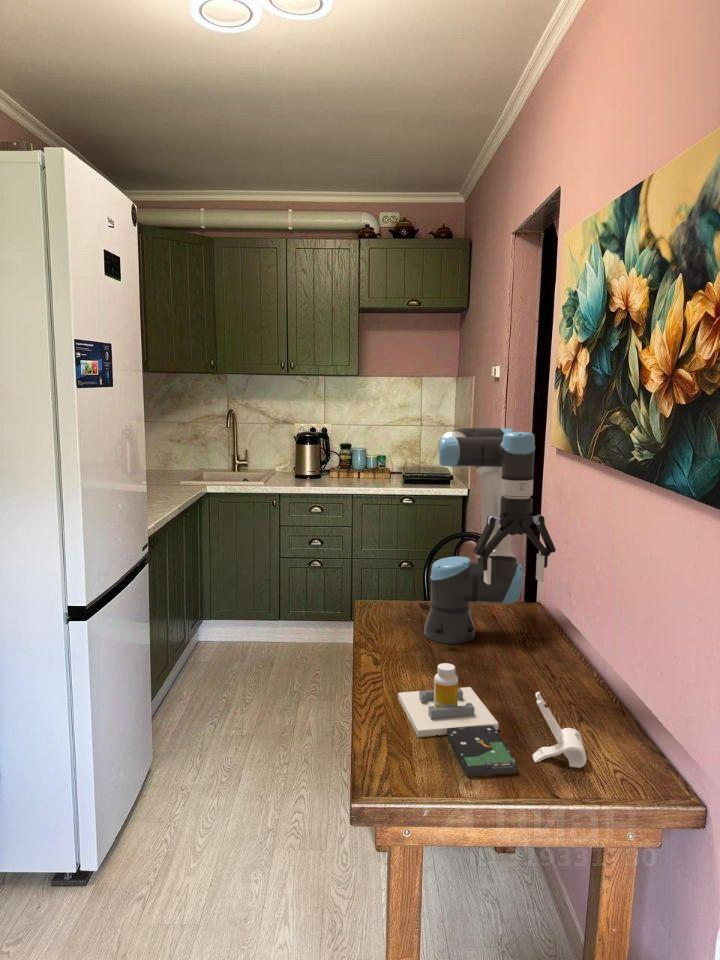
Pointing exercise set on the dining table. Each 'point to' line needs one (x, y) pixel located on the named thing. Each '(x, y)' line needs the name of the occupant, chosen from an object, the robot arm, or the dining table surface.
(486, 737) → the disk drive
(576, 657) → the dining table surface
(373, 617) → the dining table surface
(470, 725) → the bottle holder
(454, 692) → the supplement bottle
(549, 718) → the plastic part
